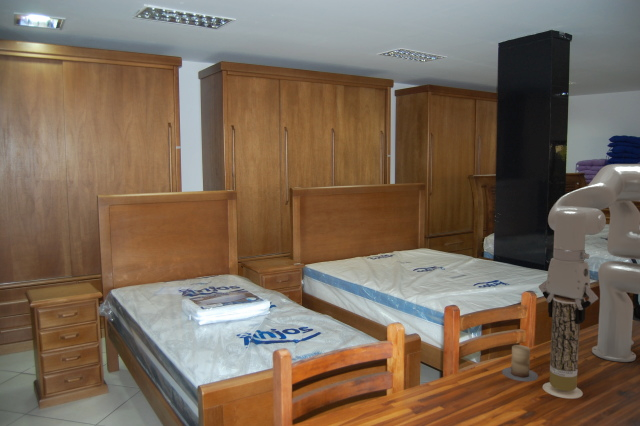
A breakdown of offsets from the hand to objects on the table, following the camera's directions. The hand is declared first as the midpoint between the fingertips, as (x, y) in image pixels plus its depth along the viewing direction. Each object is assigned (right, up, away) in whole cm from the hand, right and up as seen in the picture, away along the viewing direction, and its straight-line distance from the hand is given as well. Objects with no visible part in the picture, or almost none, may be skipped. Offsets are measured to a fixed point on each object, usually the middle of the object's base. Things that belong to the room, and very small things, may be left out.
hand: (565, 319), depth 137 cm
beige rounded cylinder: (-8, -19, +12) cm, 24 cm away
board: (-4, -21, +7) cm, 22 cm away
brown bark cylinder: (0, -19, +2) cm, 19 cm away
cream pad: (0, -21, +2) cm, 21 cm away
